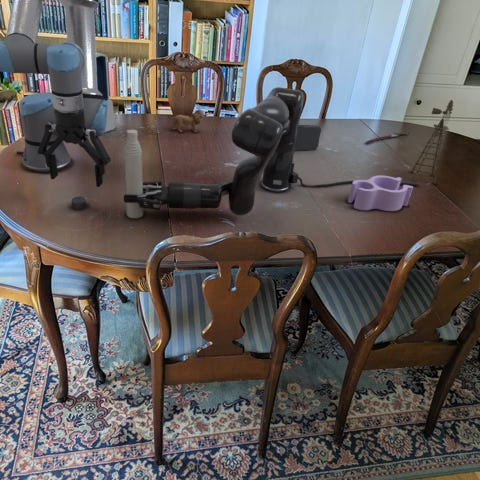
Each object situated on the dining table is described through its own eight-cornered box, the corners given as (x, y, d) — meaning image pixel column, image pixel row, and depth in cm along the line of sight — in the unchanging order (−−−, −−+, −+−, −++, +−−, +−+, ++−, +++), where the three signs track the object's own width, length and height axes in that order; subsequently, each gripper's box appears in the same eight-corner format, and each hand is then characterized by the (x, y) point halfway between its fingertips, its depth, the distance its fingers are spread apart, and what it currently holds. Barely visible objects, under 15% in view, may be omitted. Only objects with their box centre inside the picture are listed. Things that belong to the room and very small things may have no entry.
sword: (404, 132, 223) (404, 129, 222) (409, 134, 221) (409, 132, 220) (360, 143, 207) (361, 141, 206) (365, 146, 205) (366, 143, 204)
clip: (360, 214, 150) (365, 195, 146) (341, 196, 159) (346, 177, 156) (412, 209, 156) (418, 190, 152) (390, 192, 166) (396, 174, 162)
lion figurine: (201, 127, 203) (202, 107, 198) (204, 132, 199) (205, 111, 194) (168, 129, 198) (168, 108, 193) (170, 133, 194) (171, 112, 189)
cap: (73, 203, 139) (72, 196, 138) (86, 203, 140) (86, 196, 139) (71, 209, 136) (70, 203, 135) (85, 209, 137) (84, 203, 136)
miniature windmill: (435, 184, 175) (463, 105, 159) (412, 180, 176) (438, 101, 160) (432, 174, 182) (458, 98, 166) (410, 171, 183) (434, 94, 167)
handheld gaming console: (315, 147, 196) (319, 124, 190) (317, 149, 194) (322, 126, 188) (264, 149, 189) (267, 125, 183) (266, 152, 187) (269, 127, 181)
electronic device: (93, 136, 184) (86, 56, 167) (80, 131, 187) (72, 52, 170) (116, 128, 193) (112, 52, 177) (103, 124, 196) (97, 48, 180)
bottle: (146, 212, 139) (144, 130, 125) (138, 219, 135) (136, 135, 121) (131, 208, 140) (128, 126, 126) (123, 216, 136) (119, 132, 122)
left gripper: (16, 106, 120) (29, 179, 132) (108, 120, 118) (113, 194, 130) (31, 97, 126) (42, 168, 138) (119, 111, 124) (123, 182, 136)
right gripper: (184, 173, 140) (126, 171, 137) (185, 195, 128) (121, 194, 125) (184, 195, 144) (127, 194, 141) (184, 219, 132) (122, 218, 129)
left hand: (77, 181), depth 134 cm, fingers open, 13 cm apart
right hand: (125, 194), depth 133 cm, fingers closed on bottle, 5 cm apart
